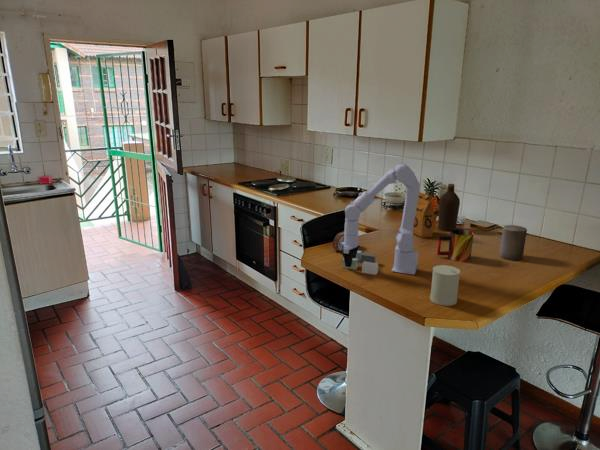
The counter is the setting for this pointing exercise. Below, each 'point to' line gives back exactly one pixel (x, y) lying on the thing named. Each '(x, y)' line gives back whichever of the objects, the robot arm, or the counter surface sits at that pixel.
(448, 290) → the can
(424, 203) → the coffee package
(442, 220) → the olive oil
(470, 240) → the mug
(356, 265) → the sage brick
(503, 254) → the pillar candle
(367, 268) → the grey brick
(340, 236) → the tin
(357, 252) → the blue brick
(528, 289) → the counter surface
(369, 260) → the charcoal brick
